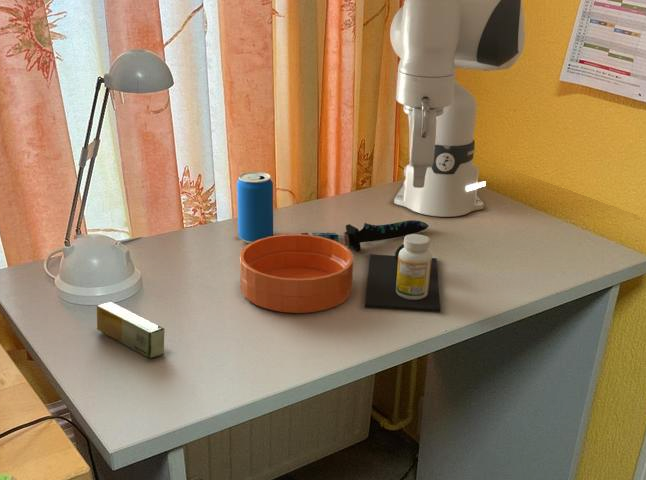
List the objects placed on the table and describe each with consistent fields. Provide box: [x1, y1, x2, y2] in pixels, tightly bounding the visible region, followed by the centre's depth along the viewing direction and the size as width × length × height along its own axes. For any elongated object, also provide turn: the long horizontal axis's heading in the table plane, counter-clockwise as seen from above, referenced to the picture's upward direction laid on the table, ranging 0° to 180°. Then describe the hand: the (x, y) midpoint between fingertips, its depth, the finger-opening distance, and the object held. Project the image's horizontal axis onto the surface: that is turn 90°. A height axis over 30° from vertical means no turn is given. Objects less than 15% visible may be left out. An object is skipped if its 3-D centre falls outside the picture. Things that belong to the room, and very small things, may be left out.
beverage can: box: [236, 171, 274, 244], centre depth 145 cm, size 6×6×12 cm
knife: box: [300, 219, 429, 253], centre depth 147 cm, size 31×3×4 cm, turn 124°
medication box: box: [96, 301, 166, 360], centre depth 113 cm, size 12×3×4 cm, turn 52°
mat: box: [364, 253, 442, 313], centre depth 135 cm, size 20×12×1 cm, turn 176°
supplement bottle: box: [396, 233, 433, 300], centre depth 128 cm, size 5×5×10 cm
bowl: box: [239, 233, 355, 314], centre depth 129 cm, size 18×18×6 cm
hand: (417, 176), depth 131 cm, fingers open, 8 cm apart
